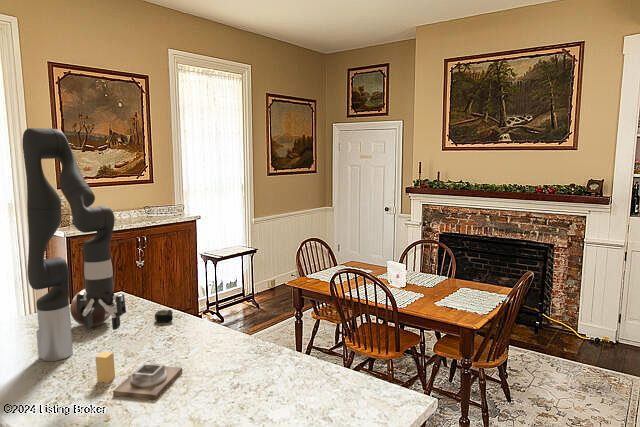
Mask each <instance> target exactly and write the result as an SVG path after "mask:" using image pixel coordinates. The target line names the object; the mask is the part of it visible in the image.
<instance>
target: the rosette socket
mask: <svg viewBox="0 0 640 427" xmlns="http://www.w3.org/2000/svg"><path fill="white" fill-rule="evenodd" d="M182 373H183V367H181V366H180V367H178V366H166V365H165V364H158V363H148V362H147V363H145V362H144V363H143V364H142V365H140V366H139V367H138V368H137V369H136V370H135V371H134V372H133V373H132V374H130V375H129V376H128V377H127V378H126V379H125V380H124V381H123V382H121V384H119V385H118V386H117V387H115V388H114V389H113V391H112V395H113V397H121V398H123V397H124V398H133V399H140V400H141V399H144V400H151V401H152V400H153V401H154V400H155V401H156V400H158V399H159V397H161V396H162V394H164V392H165V391H166V390H167V389H168V388H169V387H170V386H171V385H172V384H173V383H174V382H175V381H176V379H178V378H179V376H180V375H181V374H182ZM172 382H173V383H172Z"/></svg>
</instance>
